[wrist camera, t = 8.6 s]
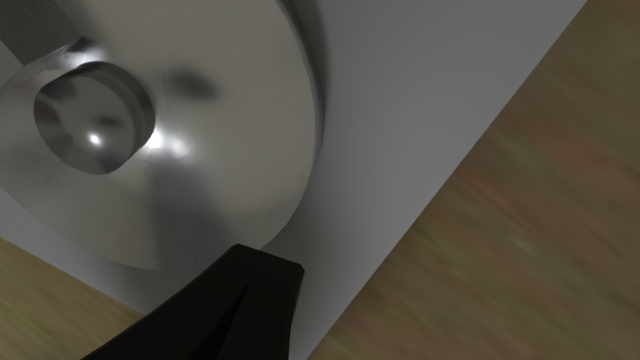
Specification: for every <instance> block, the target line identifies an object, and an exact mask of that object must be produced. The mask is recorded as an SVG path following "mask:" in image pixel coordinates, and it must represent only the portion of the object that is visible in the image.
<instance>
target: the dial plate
mask: <svg viewBox="0 0 640 360" xmlns="http://www.w3.org/2000/svg"><path fill="white" fill-rule="evenodd" d="M290 2H291V3H292V5H293V7H294V8H295V10H296V12H297V15H298V17H299V19H300V21H301V23H302V26H303V28H304V30H305V32H306V35H307V37H308V39H309V42H310V46H311V49H312V52H313V55H314V59H315V62H316V65H317V68H318V74H319V80H320V86H321V91H322V101H323V131H322V141H321V148H320V152H319V156H318V160H317V164H316V168H315V171H314V173H313V176H312V178H311V180H310V183H309V185H308V187H307V189H306V191H305V193H304V195H303V197H302V199H301V201H300V203H299V205H298V207H297V208H296V210H295V211H294V213H293V215H292V216H291V218H290V219H289V221H288V222H287V224H286V225H285V226H284V227H283V228H282V229H281V231H280V232H279V233H278V234H277V235H276V236H275V237H274V238H273V239H272V240H271V241H270V242H268V243H267V244H266V245H264V246H263V247H262V248H261V249H259V250H260V251H263V252H266V253H269V254H272V255H275V256H278V257H281V258H284V259H287V260H290V261H293V262H296V263H299V264H301V265H302V267H303V268H304V270H305V273H304V277H303V281H302V285H301V289H300V293H299V297H298V301H297V305H296V309H295V313H294V317H293V321H292V325H291V333H290V345H289V360H306V359H307V358H308V356H309V355H310V354H311V352H312V351H313V350H314V349H315V347H316V346H317V345H318V344H319V342H320V341H321V340H322V338H323V337H324V336H325V335H326V333H327V332H328V331H329V330H330V328H331V327H332V326H333V324H334V323H335V322H336V321H337V319H338V318H339V317H340V315H341V314H342V313H343V312H344V310H345V309H346V308H347V307H348V305H349V304H350V303H351V301H352V300H353V299H354V298H355V296H356V295H357V294H358V293H359V291H360V290H361V289H362V287H363V286H364V285H365V284H366V282H367V281H368V280H369V278H370V277H371V276H372V275H373V273H374V272H375V271H376V270H377V268H378V267H379V266H380V264H381V263H382V262H383V261H384V259H385V258H386V257H387V255H388V254H389V253H390V252H391V250H392V249H393V248H394V247H395V245H396V244H397V243H398V241H399V240H400V239H401V238H402V236H403V235H404V234H405V233H406V231H407V230H408V229H409V227H410V226H411V225H412V224H413V222H414V221H415V220H416V218H417V217H418V216H419V215H420V213H421V212H422V211H423V210H424V208H425V207H426V206H427V204H428V203H429V202H430V201H431V199H432V198H433V197H434V196H435V194H436V193H437V192H438V190H439V189H440V188H441V187H442V185H443V184H444V183H445V181H446V180H447V179H448V178H449V176H450V175H451V174H452V173H453V171H454V170H455V169H456V167H457V166H458V165H459V164H460V162H461V161H462V160H463V159H464V157H465V156H466V155H467V153H468V152H469V151H470V150H471V148H472V147H473V146H474V144H475V143H476V142H477V141H478V139H479V138H480V137H481V136H482V134H483V133H484V132H485V130H486V129H487V128H488V127H489V125H490V124H491V123H492V122H493V120H494V119H495V118H496V116H497V115H498V114H499V113H500V111H501V110H502V109H503V107H504V106H505V105H506V104H507V102H508V101H509V100H510V99H511V97H512V96H513V95H514V93H515V92H516V91H517V90H518V88H519V87H520V86H521V85H522V83H523V82H524V81H525V79H526V78H527V77H528V76H529V74H530V73H531V72H532V70H533V69H534V68H535V67H536V65H537V64H538V63H539V62H540V60H541V59H542V58H543V56H544V55H545V54H546V53H547V51H548V50H549V49H550V47H551V46H552V45H553V44H554V42H555V41H556V40H557V39H558V37H559V36H560V35H561V33H562V32H563V31H564V30H565V28H566V27H567V26H568V25H569V23H570V22H571V21H572V19H573V18H574V17H575V16H576V14H577V13H578V12H579V10H580V9H581V8H582V7H583V5H584V4H585V3H586V2H587V0H290ZM0 237H2V238H3V239H5V240H7V241H9V242H11V243H13V244H14V245H16V246H18V247H20V248H22V249H24V250H25V251H27V252H29V253H31V254H33V255H34V256H36V257H38V258H40V259H42V260H44V261H45V262H47V263H49V264H51V265H53V266H55V267H56V268H58V269H60V270H62V271H64V272H66V273H67V274H69V275H71V276H73V277H75V278H77V279H78V280H80V281H82V282H84V283H86V284H88V285H89V286H91V287H93V288H95V289H97V290H99V291H100V292H102V293H104V294H106V295H108V296H110V297H111V298H113V299H115V300H117V301H119V302H121V303H122V304H124V305H126V306H128V307H130V308H132V309H133V310H135V311H137V312H139V313H141V314H143V315H144V316H146V315H148V314H149V313H151V312H152V311H153V310H155V309H156V308H157V307H158V306H160V305H161V304H162V303H164V302H165V301H166V300H168V299H169V298H170V297H172V296H173V295H174V294H176V293H177V292H178V291H180V290H181V289H182V288H183V287H185V286H186V285H187V284H188V283H190V282H191V281H192V280H193V279H194V278H196V277H197V276H198V275H199V274H201V273H202V272H203V271H200V272H187V273H174V272H159V271H152V270H146V269H140V268H136V267H132V266H129V265H125V264H121V263H118V262H115V261H113V260H110V259H107V258H104V257H102V256H99V255H97V254H95V253H93V252H91V251H88V250H86V249H84V248H82V247H80V246H78V245H76V244H75V243H73V242H71V241H69V240H68V239H66V238H64V237H62V236H61V235H59V234H57V233H56V232H55V231H53V230H52V229H50V228H49V227H47V226H46V225H44V224H43V223H42V222H40V221H39V220H38V219H36V218H35V217H34V216H33V215H31V214H30V213H29V212H28V211H26V210H25V209H24V208H23V207H22V206H20V205H19V204H18V203H17V202H16V201H15V200H14V199H13V198H12V197H11V196H10V195H9V194H8V193H7V192H6V191H5V190H4V189H3V188H2V187H1V186H0Z"/></svg>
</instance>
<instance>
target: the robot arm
mask: <svg viewBox="0 0 640 360" xmlns="http://www.w3.org/2000/svg"><path fill="white" fill-rule="evenodd" d="M304 273H305V270H304V268H303V267H302V265H301V264H299V263H296V262H293V261H290V260H287V259H284V258H281V257H278V256H275V255H272V254H269V253H266V252H263V251H260V250H257V249H254V248H251V247H248V246H245V245H242V244H239V243H238V244H235V245H233V246H231V247H230V248H229V249H228V250H227V251H226V252H225V253H224V254H223V255H221V256H220V257H219V258H218V259H217V260H216V261H215V262H214V263H212V264H211V265H210V266H209V267H208V268H207V269H205V270H204V271H203V272H202V273H201V274H199V275H198V276H197V277H196V278H194V279H193V280H192V281H191V282H190V283H188V284H187V285H186V286H185V287H183V288H182V289H181V290H180V291H178V292H177V293H176V294H174V295H173V296H172V297H170V298H169V299H168V300H166V301H165V302H164V303H162V304H161V305H160V306H158V307H157V308H156V309H155V310H153V311H152V312H151V313H149V314H148V315H146V316H145V317H144V318H142V319H141V320H139V321H138V322H136V323H135V324H133V325H132V326H130V327H129V328H128V329H126V330H125V331H123V332H122V333H120V334H119V335H117V336H116V337H114V338H113V339H111V340H110V341H108V342H107V343H106V344H104V345H102V346H101V347H99V348H98V349H96V350H95V351H93V352H91V353H90V354H88V355H87V356H85V357H83V358H82V359H80V360H289V345H290V333H291V325H292V321H293V317H294V313H295V309H296V305H297V301H298V297H299V293H300V289H301V285H302V281H303V277H304Z"/></svg>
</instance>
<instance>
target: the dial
mask: <svg viewBox="0 0 640 360" xmlns="http://www.w3.org/2000/svg"><path fill="white" fill-rule="evenodd" d="M322 131H323V101H322V91H321V86H320V80H319V74H318V68H317V65H316V62H315V59H314V55H313V52H312V49H311V46H310V42H309V39H308V37H307V35H306V32H305V30H304V28H303V26H302V23H301V21H300V19H299V17H298V15H297V12H296V10H295V8H294V7H293V5H292V3H291V2H290V0H0V186H1V187H2V188H3V189H4V190H5V191H6V192H7V193H8V194H9V195H10V196H11V197H12V198H13V199H14V200H15V201H16V202H17V203H18V204H19V205H20V206H22V207H23V208H24V209H25V210H26V211H28V212H29V213H30V214H31V215H33V216H34V217H35V218H36V219H38V220H39V221H40V222H42V223H43V224H44V225H46V226H47V227H49V228H50V229H52V230H53V231H55V232H56V233H57V234H59V235H61V236H62V237H64V238H66V239H68V240H69V241H71V242H73V243H75V244H76V245H78V246H80V247H82V248H84V249H86V250H88V251H91V252H93V253H95V254H97V255H99V256H102V257H104V258H107V259H110V260H113V261H115V262H118V263H121V264H125V265H129V266H132V267H136V268H140V269H146V270H152V271H159V272H174V273H187V272H200V271H204V270H205V269H207V268H208V267H209V266H210V265H211V264H212V263H214V262H215V261H216V260H217V259H218V258H219V257H220V256H221V255H223V254H224V253H225V252H226V251H227V250H228V249H229V248H230V247H231V246H233V245H235V244H238V243H239V244H242V245H245V246H248V247H251V248H254V249H257V250H259V249H261V248H262V247H263V246H264V245H266V244H267V243H268V242H270V241H271V240H272V239H273V238H274V237H275V236H276V235H277V234H278V233H279V232H280V231H281V229H282V228H283V227H284V226H285V225H286V224H287V222H288V221H289V219H290V218H291V216H292V215H293V213H294V211H295V210H296V208H297V207H298V205H299V203H300V201H301V199H302V197H303V195H304V193H305V191H306V189H307V187H308V185H309V183H310V180H311V178H312V176H313V173H314V171H315V168H316V164H317V160H318V156H319V152H320V148H321V141H322Z"/></svg>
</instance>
